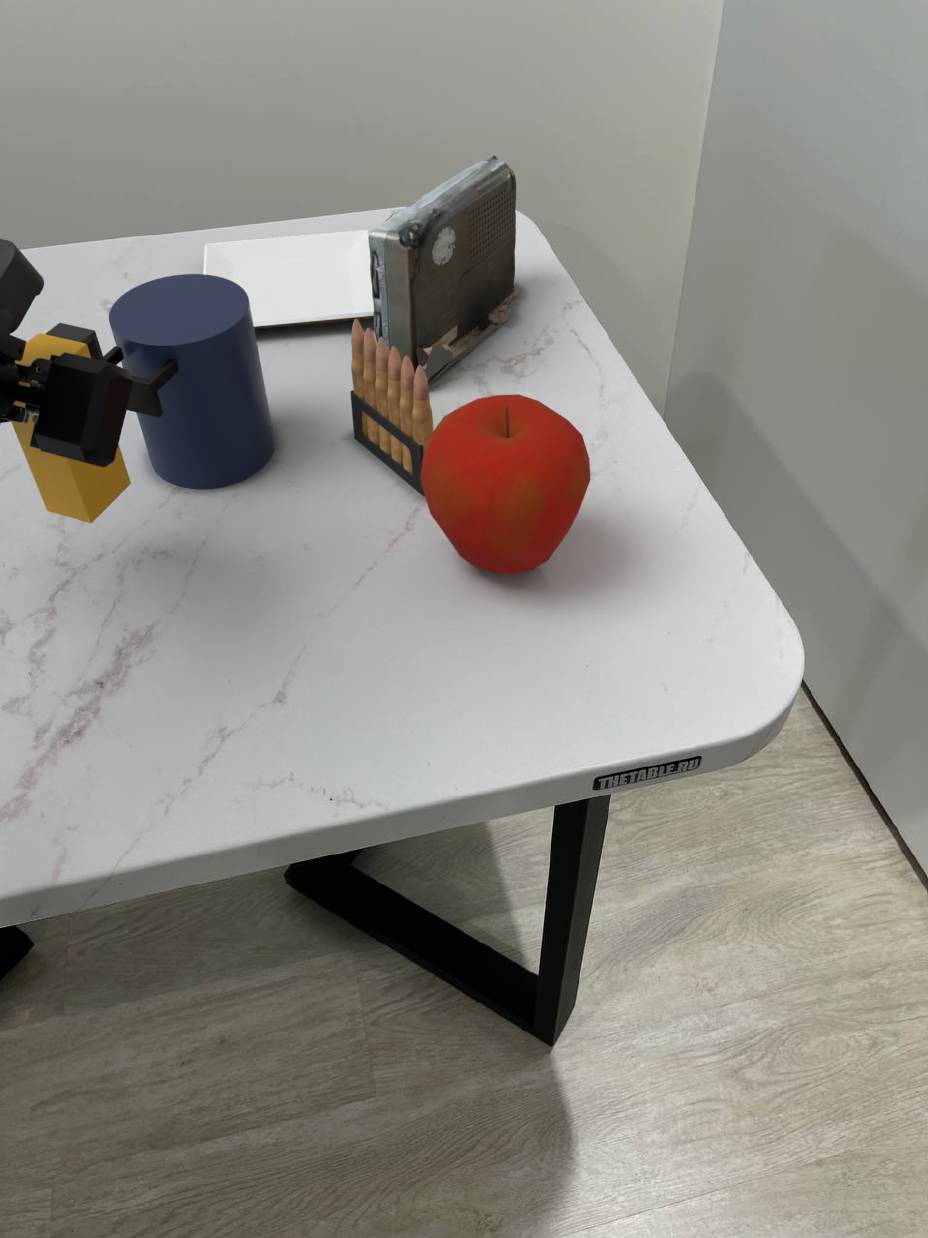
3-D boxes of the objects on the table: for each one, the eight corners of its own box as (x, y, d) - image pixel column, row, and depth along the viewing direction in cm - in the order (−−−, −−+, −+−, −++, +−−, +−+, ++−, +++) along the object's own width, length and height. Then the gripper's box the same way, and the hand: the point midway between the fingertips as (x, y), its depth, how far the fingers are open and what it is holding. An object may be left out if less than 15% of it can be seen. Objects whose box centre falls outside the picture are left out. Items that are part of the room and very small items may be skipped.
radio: (486, 271, 112) (486, 132, 101) (552, 293, 109) (559, 151, 98) (350, 368, 99) (334, 220, 89) (420, 396, 96) (412, 246, 85)
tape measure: (91, 524, 74) (39, 382, 65) (46, 511, 75) (-11, 369, 66) (143, 471, 78) (101, 331, 69) (100, 459, 79) (53, 320, 70)
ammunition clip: (441, 487, 87) (436, 366, 78) (424, 496, 86) (417, 374, 77) (370, 429, 92) (359, 310, 84) (353, 437, 92) (340, 317, 83)
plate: (388, 330, 104) (386, 311, 103) (204, 347, 102) (200, 329, 101) (371, 245, 117) (370, 227, 115) (207, 259, 115) (204, 241, 114)
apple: (401, 582, 79) (388, 434, 69) (464, 491, 86) (461, 345, 76) (549, 629, 75) (560, 480, 65) (602, 530, 83) (618, 382, 72)
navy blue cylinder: (215, 525, 84) (178, 380, 74) (103, 495, 87) (53, 351, 76) (296, 428, 93) (273, 286, 83) (193, 403, 96) (159, 264, 85)
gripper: (67, 242, 54) (216, 326, 69) (-197, 189, 59) (-5, 279, 74) (19, 446, 55) (177, 486, 70) (-238, 376, 60) (-39, 428, 75)
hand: (75, 413), depth 72 cm, fingers closed on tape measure, 4 cm apart
